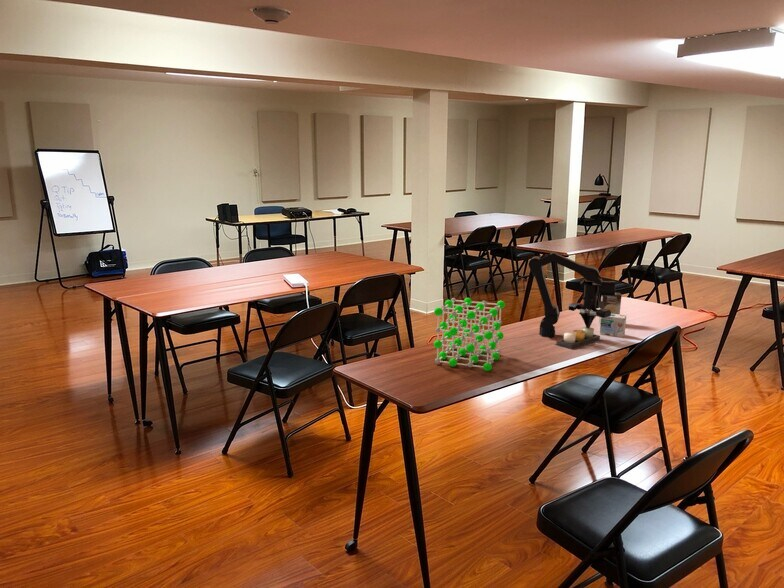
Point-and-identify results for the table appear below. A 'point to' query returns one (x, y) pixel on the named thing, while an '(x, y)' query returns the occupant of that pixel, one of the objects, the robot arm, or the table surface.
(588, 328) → the sage button
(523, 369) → the table surface
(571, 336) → the ivory button
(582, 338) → the amber button
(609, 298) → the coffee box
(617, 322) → the light bulb box
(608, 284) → the robot arm
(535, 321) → the table surface
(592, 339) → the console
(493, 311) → the molecular structure model
